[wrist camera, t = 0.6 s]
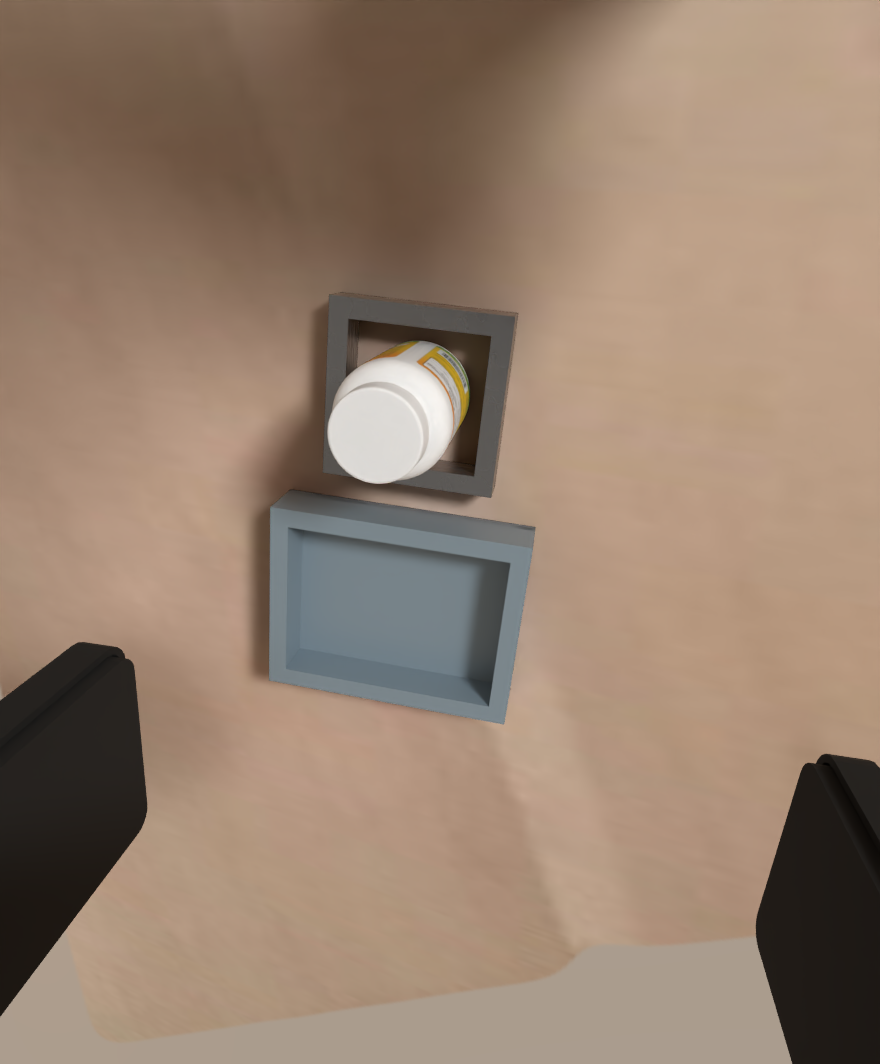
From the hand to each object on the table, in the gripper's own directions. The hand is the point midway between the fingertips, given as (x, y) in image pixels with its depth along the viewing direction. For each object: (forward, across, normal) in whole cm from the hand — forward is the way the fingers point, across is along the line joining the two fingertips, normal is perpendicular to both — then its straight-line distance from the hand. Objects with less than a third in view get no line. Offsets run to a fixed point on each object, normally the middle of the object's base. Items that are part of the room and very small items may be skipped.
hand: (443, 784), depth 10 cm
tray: (+29, +6, +12) cm, 32 cm away
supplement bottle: (+29, +6, 0) cm, 30 cm away
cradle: (+29, +6, 0) cm, 29 cm away
